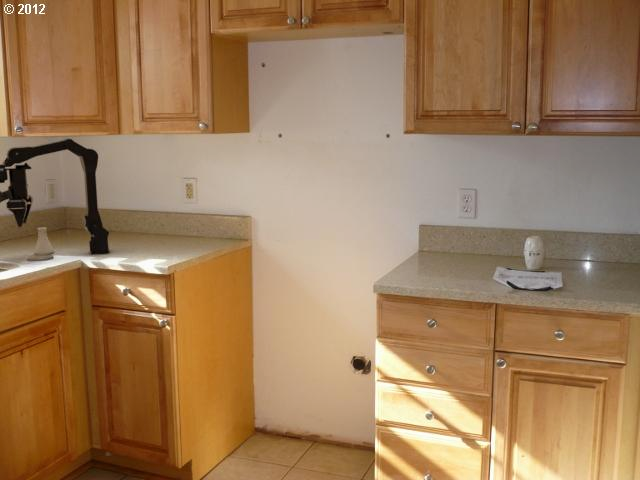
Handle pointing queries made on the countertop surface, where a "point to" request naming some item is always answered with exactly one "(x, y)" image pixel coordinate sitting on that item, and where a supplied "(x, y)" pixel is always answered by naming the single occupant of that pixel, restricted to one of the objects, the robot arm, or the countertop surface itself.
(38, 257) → the slate coaster
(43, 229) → the flask
